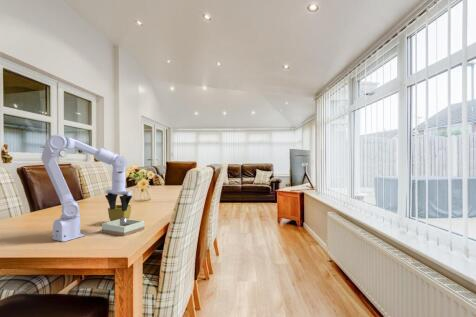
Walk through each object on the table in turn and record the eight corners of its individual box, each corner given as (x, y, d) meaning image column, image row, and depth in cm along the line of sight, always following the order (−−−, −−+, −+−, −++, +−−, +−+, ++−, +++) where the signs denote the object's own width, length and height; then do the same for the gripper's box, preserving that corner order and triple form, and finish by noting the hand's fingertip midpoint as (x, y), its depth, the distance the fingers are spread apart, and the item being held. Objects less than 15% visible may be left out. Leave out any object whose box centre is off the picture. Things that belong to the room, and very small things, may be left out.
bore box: (124, 236, 115) (124, 227, 115) (101, 232, 121) (102, 223, 120) (144, 229, 126) (144, 221, 126) (122, 226, 131) (123, 218, 131)
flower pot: (124, 225, 132) (124, 208, 132) (107, 225, 132) (107, 207, 132) (131, 221, 141) (131, 204, 141) (115, 221, 141) (115, 204, 141)
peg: (123, 232, 121) (123, 219, 121) (118, 231, 122) (118, 218, 122) (128, 230, 124) (128, 217, 124) (123, 229, 125) (123, 217, 125)
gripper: (136, 181, 124) (136, 210, 124) (115, 179, 130) (114, 207, 130) (124, 182, 117) (124, 212, 117) (102, 180, 123) (101, 209, 123)
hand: (118, 210), depth 123 cm, fingers open, 7 cm apart
